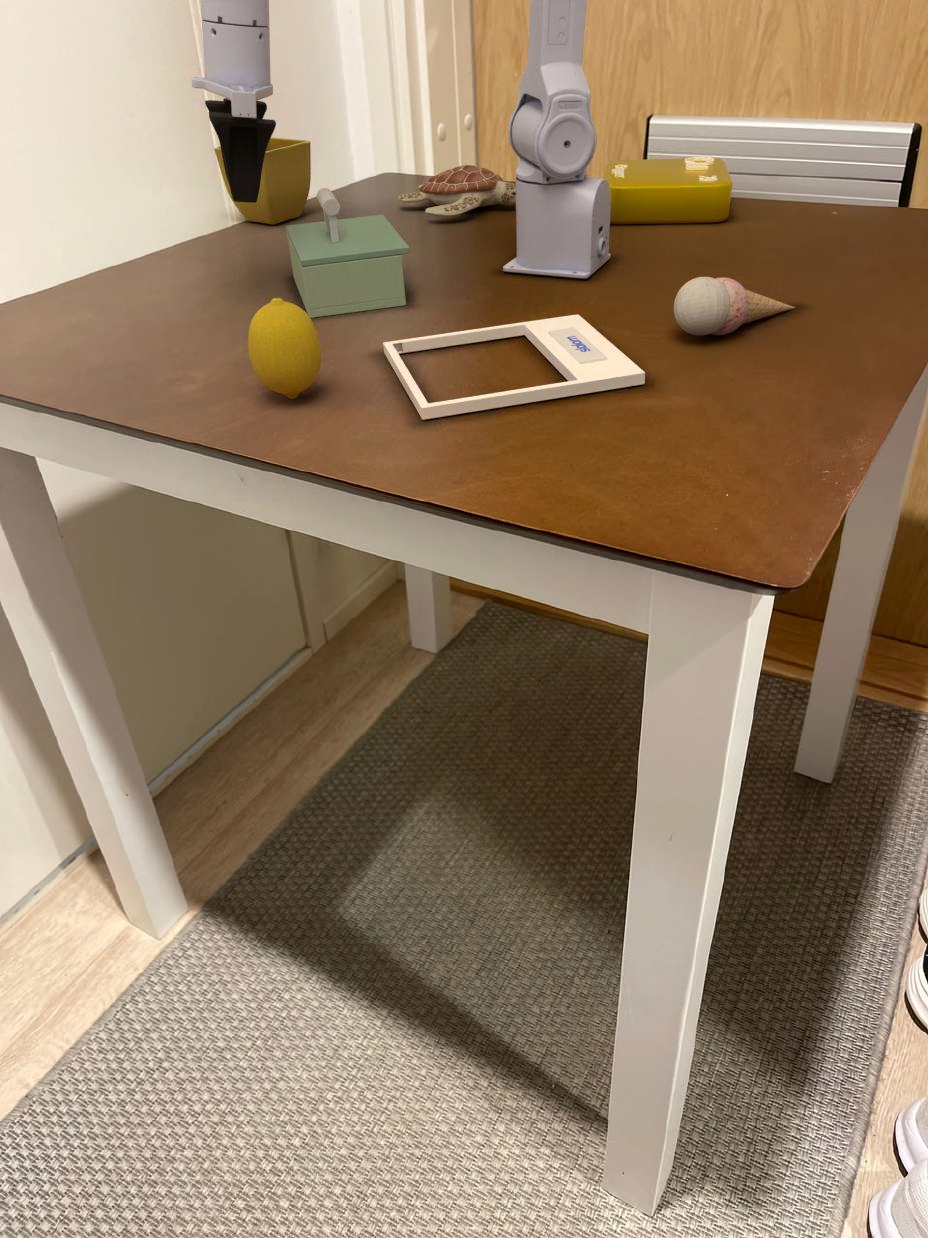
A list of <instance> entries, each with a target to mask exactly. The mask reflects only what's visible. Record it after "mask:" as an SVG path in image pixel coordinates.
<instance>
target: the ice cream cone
mask: <svg viewBox="0 0 928 1238" xmlns="http://www.w3.org/2000/svg"><path fill="white" fill-rule="evenodd" d="M673 302H674V303H673V315H674V318H675V321H676V323H677V325H678V326H679V327H680V328H681V329H682V330H683V331H684V332H686V333H688V334H690V335H694V336H707V335H712V336H725V335H728V334H731V333H733V332H734V331H736V330H738V328H740V326H742V325H744V324H748V323H752V322H755V321H758V320H760V319H764V318H766V317H769V316H770V317H771V316H775V315H777V314H780V313H784V312H786V311H789V310H793V309H796V307H795V306H792V305H790V304H786V303H784V302H781V301H778V300H776V299H773V298H770V297H767V296H764V295H763V294H759V293H756V292H754V291H751V290H748V289H746V288H745V287H744V286H743V285H742V284H741V283H740V282H738V281H737V280H735V279H733V278H730V277H716V278H713V277H711V276H699V277H695V278H691V280H689V281H687V282H685V283H684V285H682V287H680V289H679V290H678V291H677V293H676V296H675V299H674V301H673Z"/></svg>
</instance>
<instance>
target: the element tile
mask: <svg viewBox="0 0 928 1238" xmlns="http://www.w3.org/2000/svg"><path fill="white" fill-rule="evenodd" d="M603 179H605V180H607V181H608V183H609V187H610V194H611V208H610V225H662V224H664V225H669V224H671V225H672V224H673V225H674V224H676V225H677V224H716V223H722V222H725V221H727V220H728V218H729V216H730V208H731V200H732V191H733V180H732V177H731V175H730V172H729V170H728V167H727V165H726V162H725V161H724V160H723V159H721V158H720V157H711V156H692V157H691V156H690V157H686V158H652V159H651V158H649V159H615V160H610V161H608V162H607V163H606V164H605V165H604V170H603Z"/></svg>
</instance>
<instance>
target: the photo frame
mask: <svg viewBox="0 0 928 1238" xmlns="http://www.w3.org/2000/svg"><path fill="white" fill-rule="evenodd" d="M519 336H525V337H526V338H527V340H528V341H530V343H531V344H532V345H533V346H534V347H535V348H536V349H537V350H538V351H539V353H541V354H542V355H543V356H544V357H545V358H546V360H548V362H550V363H551V365H552V366H553V367H554V368H555V369H556V370H557V371H558V372H559V373H560V374H561V375H562V377H564V378H565V380H567V381H563V382H555V383H550V384H543V385H536V386H531V387H524V388H518V389H511V390H505V391H500V392H499V391H498V392H492V393H486V394H485V393H484V394H480V395H473V396H468V397H460V398H455V399H449V400H442V401H441V400H440V401H435V402H428V401H427V399H426V397H425V396H424V394H423V392H422V391H421V389H420V388H419V385H418V384H417V383H416V381H415V379H414V377H413V376H412V374H411V373H410V371H409V369H408V367H407V366H406V364H405V362H404V361H403V359H402V357H401V356H400V354H405V353H411V352H419V351H426V350H433V349H439V348H445V347H451V346H458V345H459V346H460V345H466V344H472V343H479V342H487V341H493V340H500V339H507V338H513V337H519ZM382 345H383V346H382V347H383V353H384V355H385V357H386V359H387V361H388V363H389V364H390V366H391V367H392V370H393V371H394V373H395V375H396V376H397V378H398V380H399V381H400V383H401V385H402V387H403V389H404V390H405V392H406V395H408V398H409V399H410V401H411V402H412V405H413V406H414V408H415V410H416V411H417V413H418V414H419V416H420V419H421V420H422V421H424V420H430V419H436V418H442V417H449V416H454V415H460V414H466V413H473V412H478V411H486V410H492V409H499V408H504V407H509V406H517V405H523V404H529V403H534V402H542V401H547V400H553V399H554V400H555V399H559V398H566V397H572V396H577V395H585V394H591V393H596V392H597V393H599V392H604V391H609V390H615V389H622V388H627V387H628V388H629V387H632V386H634V387H635V386H640V385H645V383H646V372H645V371H644V370H643V369H642V368H640V366H638V365H637V364H636V363H635V362H634V361H632V359H630V358H629V357H628V356H627V355H626V354H624V352H623V351H621V350H620V349H618V348H617V346H616V345H614V344H613V343H612V342H611V341H610V340H608V338H606V337H605V336H604V335H602V334H601V333H600V331H598V330H597V329H596V328H595V327H593V326H592V325H591V324H590V323H589V322H588V321H587V320H586V319H584V318H583V317H582V316H581V315H579V314H571V315H563V316H557V317H551V318H543V319H542V318H541V319H536V320H530V321H522V322H516V323H508V324H501V325H495V326H489V327H481V328H474V329H473V328H472V329H467V330H460V331H453V332H447V333H440V334H439V333H438V334H432V335H425V336H419V337H412V338H404V339H398V340H397V339H396V340H391V341H383V342H382Z"/></svg>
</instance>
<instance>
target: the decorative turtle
mask: <svg viewBox="0 0 928 1238" xmlns="http://www.w3.org/2000/svg"><path fill="white" fill-rule="evenodd" d="M417 189H418V191H411V192H406V193H401V194H399V195H398V197H397V199H398V201H399V202H401V203H407V204H412V203H418V202H422V201H431V202H432V203H434V204H435V205H436V206H431V207H427V208H425V211H424V213H425V214H426V215H429V216H436V217H454V216H458V215H462V214H464V213H467V212H469V211H472V210H474V209H477V208H480V207H489V206H496V205H504V206H512V205H516V182H515V183H514V182H509V181H506V180H505V181H504V180H503V178H502V176H500V175H499V174H497V173H495V172H494V171H492V170H490V169H488V168H485V167H479V166H476V165H470V164H464V165H459V166H455V167H453V168H449V169H447V170H445V171H442V172H440V173H438V174H436V175H433V176H431V177H430V178H429V179H427V180H426V181H425V182H424V183H422V184H419V185H418V186H417ZM437 205H438V206H437Z"/></svg>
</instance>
